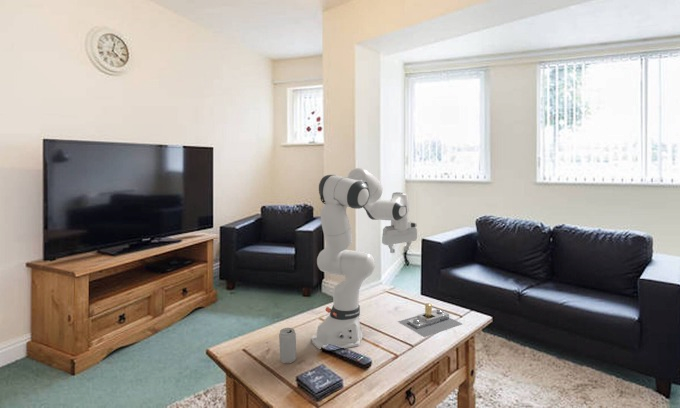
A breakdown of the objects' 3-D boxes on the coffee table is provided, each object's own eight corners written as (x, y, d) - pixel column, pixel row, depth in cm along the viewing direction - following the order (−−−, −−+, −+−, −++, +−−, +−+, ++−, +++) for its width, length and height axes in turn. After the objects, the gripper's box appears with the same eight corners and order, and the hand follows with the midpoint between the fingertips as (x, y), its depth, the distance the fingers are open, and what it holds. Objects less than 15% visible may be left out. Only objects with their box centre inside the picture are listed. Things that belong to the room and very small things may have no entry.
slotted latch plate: (417, 328, 164) (417, 321, 164) (407, 322, 170) (407, 316, 170) (449, 318, 174) (449, 312, 174) (438, 313, 180) (438, 307, 180)
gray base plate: (424, 338, 156) (424, 337, 156) (397, 322, 172) (397, 321, 172) (462, 325, 168) (462, 324, 168) (434, 311, 184) (434, 310, 184)
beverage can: (291, 365, 137) (290, 335, 135) (276, 362, 139) (275, 333, 138) (299, 357, 142) (298, 328, 141) (285, 354, 145) (284, 325, 143)
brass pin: (428, 322, 170) (428, 306, 169) (423, 320, 173) (423, 304, 172) (432, 321, 172) (433, 304, 171) (428, 318, 174) (428, 302, 173)
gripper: (387, 227, 173) (387, 255, 175) (419, 223, 183) (418, 249, 185) (379, 225, 178) (379, 252, 180) (410, 221, 189) (410, 247, 190)
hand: (399, 251), depth 182 cm, fingers open, 8 cm apart
